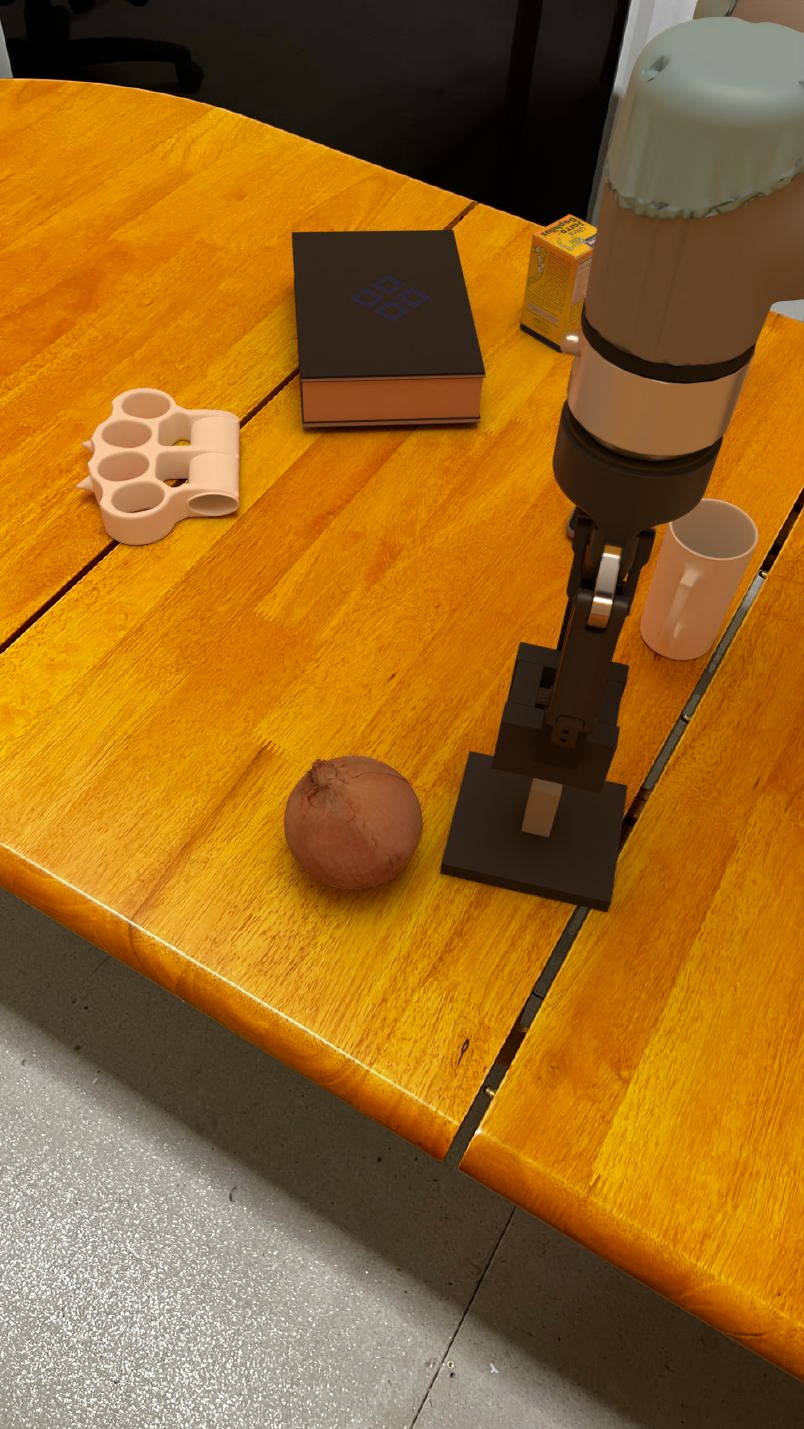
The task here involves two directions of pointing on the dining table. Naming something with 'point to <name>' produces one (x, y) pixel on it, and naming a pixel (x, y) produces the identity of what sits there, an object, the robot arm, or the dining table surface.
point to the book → (384, 329)
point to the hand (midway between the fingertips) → (564, 714)
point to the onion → (353, 822)
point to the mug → (697, 578)
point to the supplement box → (557, 279)
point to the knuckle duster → (161, 465)
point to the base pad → (535, 835)
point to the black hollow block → (526, 717)
